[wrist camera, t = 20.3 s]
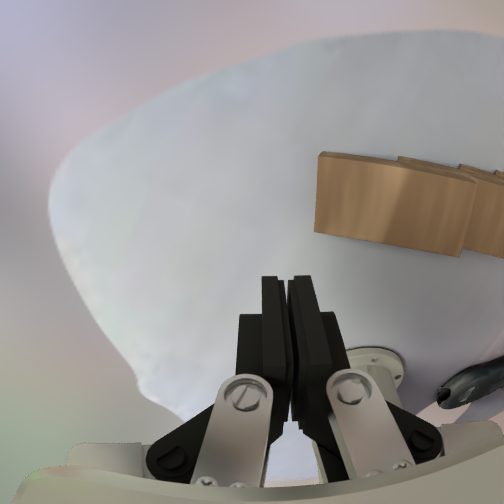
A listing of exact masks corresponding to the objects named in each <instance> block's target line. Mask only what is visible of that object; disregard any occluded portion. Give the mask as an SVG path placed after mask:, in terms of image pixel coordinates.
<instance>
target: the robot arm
mask: <svg viewBox="0 0 504 504" xmlns="http://www.w3.org/2000/svg"><path fill="white" fill-rule="evenodd" d="M403 376H404V368H403V365H402V362H401V360H400V359H399V357H398V356H397V355H396V354H395V353H393V352H391V351H389V350H386V349H381V348H359V349H354V350H349V351H346V349H345V346H344V343H343V339H342V336H341V332H340V329H339V326H338V322H337V319H336V316H335V314H334V312H320V310H319V306H318V302H317V298H316V294H315V291H314V287H313V283H312V279H311V276H310V275H303V276H294V280H288V293H287V302H286V294H285V286H284V280H278V277H277V276H262V314H240V317H239V330H238V345H237V359H236V374H235V376H233V377H231V378H229V379H227V380H226V381H225V382H224V383H223V384H222V385H221V387H220V389H219V391H218V394H217V397H216V400H215V403H214V404H213V405H211V406H210V407H208V408H207V409H205V410H204V411H202V412H201V413H199V414H198V415H196V416H195V417H193V418H192V419H190V420H189V421H187V422H186V423H184V424H183V425H181V426H180V427H178V428H177V429H175V430H173V431H172V432H170V433H169V434H167V435H166V436H164V437H162V438H161V439H159V440H157V441H156V442H155V443H154V444H152V445H142V443H82V444H78V445H76V446H74V447H72V449H71V450H70V451H69V452H68V455H67V459H66V466H58V467H48V468H44V469H40V470H37V471H34V472H33V473H31V474H30V475H28V476H27V477H26V478H25V479H24V480H23V482H22V483H21V484H20V486H19V488H18V490H17V492H16V494H15V496H14V498H13V501H12V503H11V504H504V435H503V433H502V430H501V428H500V427H499V425H498V424H497V423H495V422H493V421H489V420H484V421H476V422H466V423H454V424H442V425H441V426H440V427H435V426H433V425H432V424H430V423H428V422H426V421H424V420H422V419H420V418H419V417H417V416H415V415H413V414H411V413H409V412H407V411H405V410H403V407H402V404H401V401H400V398H399V395H398V392H397V390H396V389H397V388H398V386H399V385H400V383H401V382H402V379H403ZM290 402H291V414H292V421H298V426H299V430H300V429H303V434H305V435H306V436H308V437H309V438H311V439H312V446H313V449H314V452H315V456H316V459H317V466H318V475H319V483H320V484H316V485H305V486H292V487H270V488H264V483H265V478H266V472H267V466H268V460H269V454H270V448H271V444H272V443H273V442H274V441H275V440H277V439H278V438H279V437H280V436H281V435H282V433H283V425H284V422H287V421H288V413H289V405H290Z"/></svg>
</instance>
